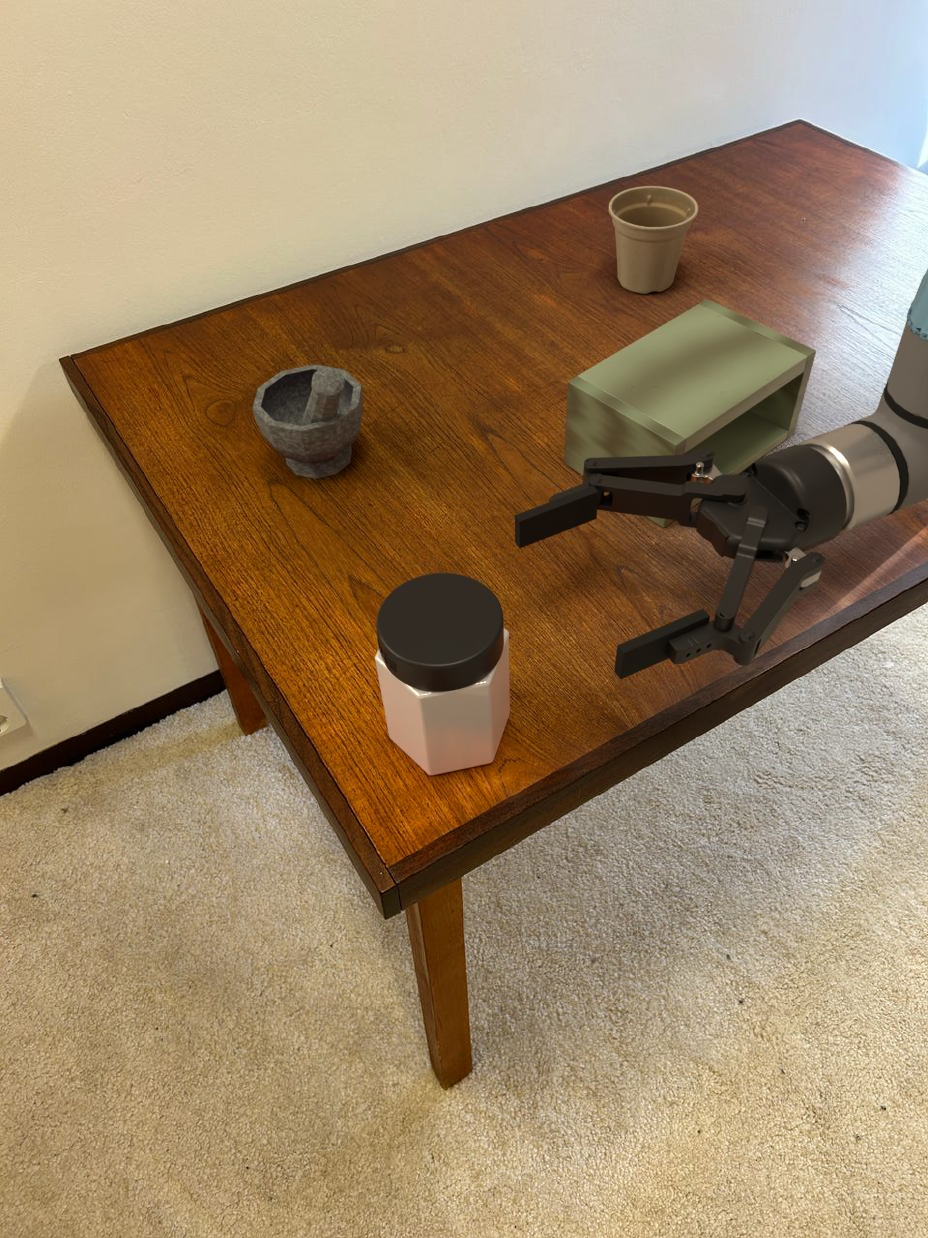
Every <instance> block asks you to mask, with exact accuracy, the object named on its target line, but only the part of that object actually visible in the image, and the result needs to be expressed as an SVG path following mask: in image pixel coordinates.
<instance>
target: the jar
mask: <svg viewBox="0 0 928 1238" xmlns="http://www.w3.org/2000/svg"><path fill="white" fill-rule="evenodd" d="M504 618H505V617H504V611H503V607H502V605H501V603H500V600H499V598H498V597H497V596H496V594H495V593H494V592H493V591H492V590H491V589H490V588H489V587H488V586H486V585H485V584H484V583H482V582H480V581H479V580H476V579H475V578H472V577H470V576H467V575H463V574H459V573H454V572H453V573H452V572H435V573H428V574H423V575H419V576H416V577H413V578H411V579H409V580H406V581H405V582H403V583H401V584H400V585H398V586H397V587H395V588H394V589H393V590H392V591H391V592H390V593H389V594H388V596H386V598H384V600H383V601H382V603H381V605H380V607H379V609H378V612H377V617H376V624H375V625H376V637H377V638H376V640H377V647H378V649H377V652H376V654H375V656H374V661H375V666H376V673H377V677H378V684H379V688H380V689H379V690H380V694H381V699H382V705H383V711H384V716H385V721H386V727H387V732H388V738H389V739H390V740H391V741H393V743H394V744H395V745H396V746H398V747H399V748H400V750H402V752H404V753H405V754H406V755H407V756H408V757H409V758H410V759H411V760H412V761H413V762H415V764H416V765H418V766H419V768H421V769H422V770H423V771H424V772H425V773H426V774H427V775H428V776H436V775H441V774H446V773H449V772H455V771H459V770H465V769H469V768H474V767H480V766H483V765H484V766H485V765H488V764H492V763H493V762H494V761H495V757H496V754H497V752H498V750H499V749H498V748H499V746H500V744H501V740H502V737H503V734H504V731H505V729H506V726H507V723H508V721H509V717H510V714H511V685H510V684H511V682H510V681H511V680H510V679H511V677H510V676H511V675H510V673H511V672H510V632H509V630H508V629H507V628H505V627H504V626H505V620H504Z"/></svg>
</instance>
